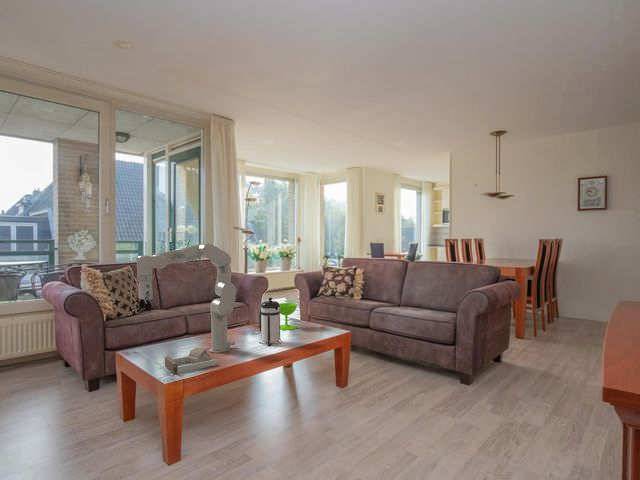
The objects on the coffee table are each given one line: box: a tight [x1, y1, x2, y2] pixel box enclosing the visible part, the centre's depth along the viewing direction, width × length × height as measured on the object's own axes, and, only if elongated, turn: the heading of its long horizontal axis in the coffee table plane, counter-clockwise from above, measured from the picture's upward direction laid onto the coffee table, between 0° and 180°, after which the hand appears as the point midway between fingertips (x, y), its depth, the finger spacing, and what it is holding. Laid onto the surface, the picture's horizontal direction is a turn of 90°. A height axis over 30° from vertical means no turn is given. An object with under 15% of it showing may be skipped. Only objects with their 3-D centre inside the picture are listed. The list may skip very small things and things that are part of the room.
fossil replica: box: [188, 347, 211, 364], centre depth 207 cm, size 12×8×10 cm
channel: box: [164, 355, 218, 375], centre depth 205 cm, size 23×16×5 cm
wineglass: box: [279, 302, 298, 332], centre depth 290 cm, size 16×16×18 cm
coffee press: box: [258, 297, 283, 347], centre depth 249 cm, size 17×16×30 cm
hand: (145, 309), depth 206 cm, fingers open, 9 cm apart
